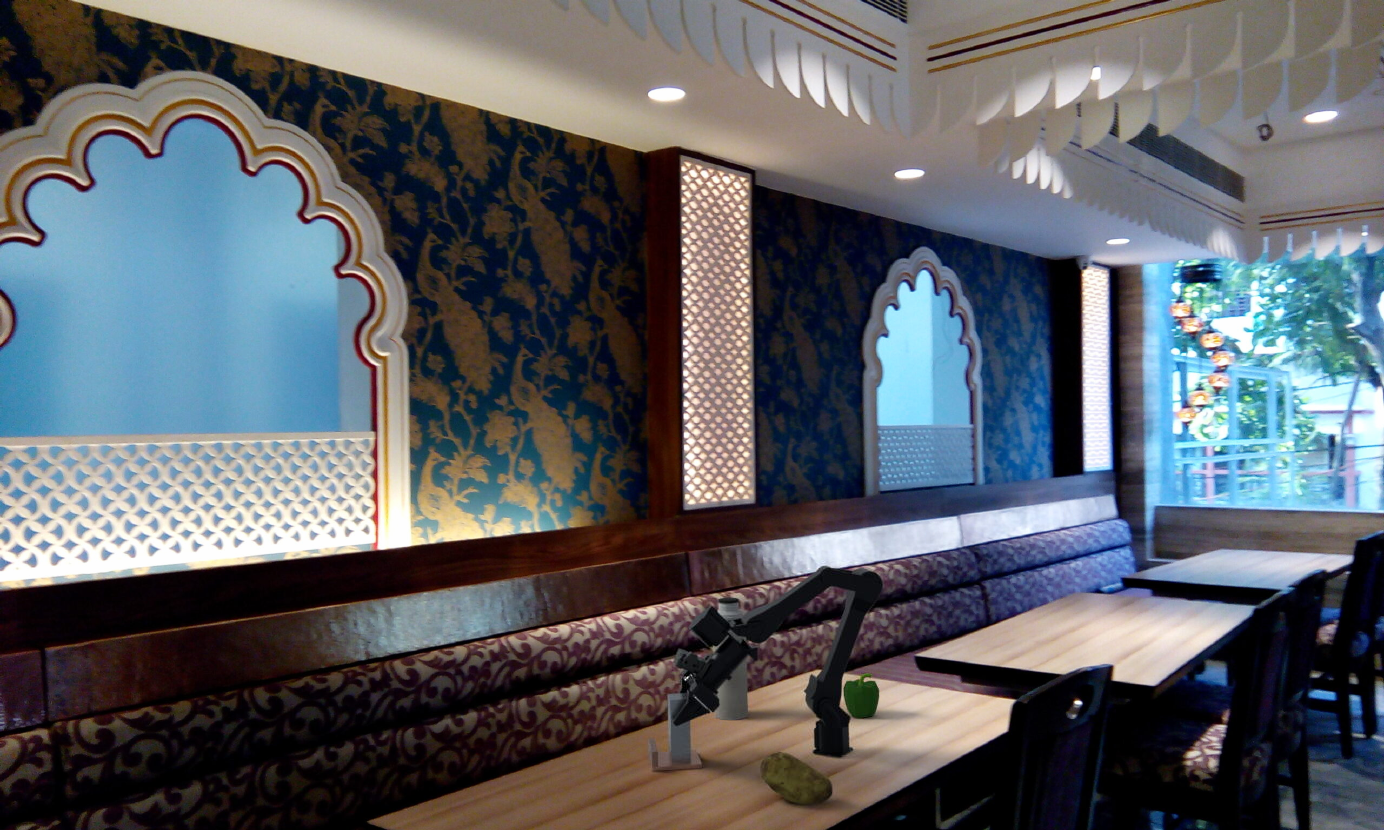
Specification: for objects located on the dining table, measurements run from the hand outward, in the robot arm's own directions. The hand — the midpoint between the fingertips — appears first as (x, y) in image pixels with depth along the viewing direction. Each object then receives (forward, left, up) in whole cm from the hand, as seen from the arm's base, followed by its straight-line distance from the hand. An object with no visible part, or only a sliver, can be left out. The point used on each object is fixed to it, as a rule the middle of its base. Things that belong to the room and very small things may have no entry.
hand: (672, 718), depth 208 cm
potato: (-32, +7, -9) cm, 34 cm away
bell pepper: (-18, -51, -9) cm, 55 cm away
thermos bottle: (+9, -36, -9) cm, 38 cm away
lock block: (-1, -1, -8) cm, 8 cm away
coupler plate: (0, 0, -9) cm, 9 cm away
